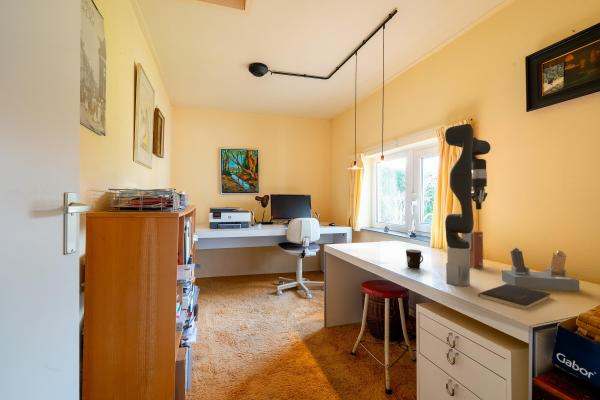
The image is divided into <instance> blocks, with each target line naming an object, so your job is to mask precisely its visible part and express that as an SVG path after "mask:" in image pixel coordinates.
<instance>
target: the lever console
mask: <svg viewBox="0 0 600 400" xmlns="http://www.w3.org/2000/svg"><path fill="white" fill-rule="evenodd" d="M510 267H511V268H510V269H511V270H510V269H509V270H506V269H505V270H504V269H502V270H501V281H503V283H505V284H509V285H514V286H518V287H523V288H527V289H532V290H544V291H545V290H546V291H563V292H580V279H578V278H575V277H573V276H569V275H567V269H566V268H564V271H563V276H561V275H552V269H551V267H545V270H546V271H530V267H528V266H525V270H526V273H517V268H516V267H514V266H513V265H511V266H510Z"/></svg>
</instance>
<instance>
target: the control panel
mask: <svg viewBox="0 0 600 400" xmlns="http://www.w3.org/2000/svg"><path fill="white" fill-rule="evenodd" d="M460 234H461V235H460V236H461V238H462V239H464V240H466V241H468V242H469V244H470V268H471V269H483V268H484V248H483V247H484V240H483V239H484V236H483V235H484V232H483V231H481V230H475V229H473V230H472V232H471V233H469V234H465V233H460Z"/></svg>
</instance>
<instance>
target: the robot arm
mask: <svg viewBox="0 0 600 400" xmlns="http://www.w3.org/2000/svg"><path fill="white" fill-rule="evenodd" d="M444 139H445V142H446V144H447V145H448V146H452V147H458V148H461V152H460V154H459V157H458V159H456V161H455V162H454V164H453V166H452V167H451V169H450V172H449V188H450V190H451V191H452V193H453V194H454V196H455V197H456V200H458V201H459V204H460V208H461V213H452V212H451V213H449V214H447V215H446V218H445V222H444V223H445V224H444V225H445V239H446V243H447V244H446V247H447V248H446V249H447V253H446V258H447V259H446V260H447V262H446V265H445V267H446V269H445V270H446V272H445V274H446V277H445V279H446V283H447V284H450V285H454V286H457V287H467V286H470V284H471V280H470V279H471V276H470V275H471V274H470V273H471V272H470V271H471V269H470V268H471V267H470V244H469V242H468V241H466V240H464V239H462V238H461V237H460V236H461V235H459V234H461V233H465V234H469V233H471V232H472V230H474V226H475V225H474V212H473V210H474V209H473V202H474V203H475V210H480V211H481V210H482V206H483V204H482V203H483V202H485V201H486V198H487V196H488V192H485V191H486V190H485V188H486V187H487V186H488V172H487V160H486V159H485V158H478V157H477V156H482V155H486V154H489V153H490V151H491V144H490V143H489V142H488V141H487V140H482V139H478V138H477V137H474V129H473V126H472V124H470V123H464V124H459V125H455V126H454V125H453V126H450V127H447V129H446V130H445V133H444Z"/></svg>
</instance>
